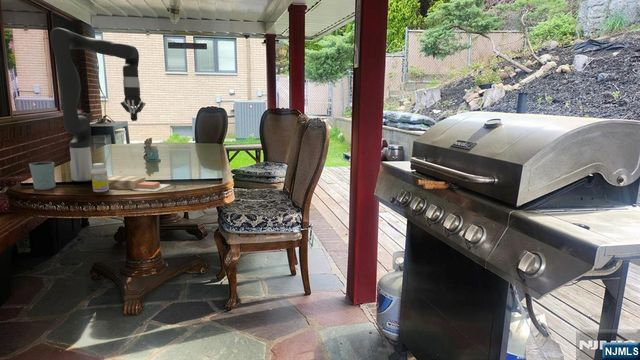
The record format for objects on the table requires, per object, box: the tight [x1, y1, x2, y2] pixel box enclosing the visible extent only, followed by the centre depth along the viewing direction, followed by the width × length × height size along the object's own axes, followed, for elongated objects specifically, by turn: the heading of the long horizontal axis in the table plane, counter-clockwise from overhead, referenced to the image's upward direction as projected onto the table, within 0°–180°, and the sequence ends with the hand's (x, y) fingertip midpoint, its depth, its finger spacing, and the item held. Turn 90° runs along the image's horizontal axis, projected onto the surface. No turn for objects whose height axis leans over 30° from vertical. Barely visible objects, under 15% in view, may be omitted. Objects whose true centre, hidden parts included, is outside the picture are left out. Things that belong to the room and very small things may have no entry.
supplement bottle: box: [91, 162, 110, 193], centre depth 197 cm, size 7×7×13 cm
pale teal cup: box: [29, 161, 56, 191], centre depth 202 cm, size 10×10×12 cm
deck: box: [107, 174, 146, 190], centre depth 208 cm, size 20×10×4 cm, turn 81°
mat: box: [132, 183, 171, 192], centre depth 206 cm, size 12×14×1 cm
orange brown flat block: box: [136, 181, 161, 189], centre depth 205 cm, size 9×6×2 cm, turn 81°
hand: (134, 120), depth 216 cm, fingers closed
